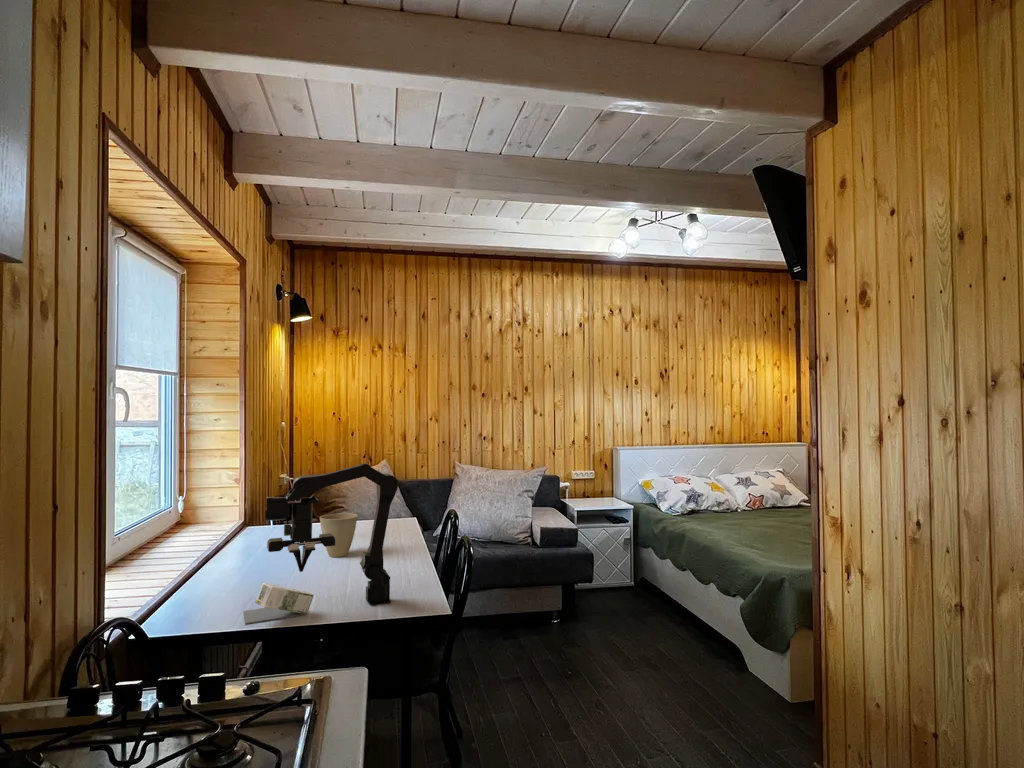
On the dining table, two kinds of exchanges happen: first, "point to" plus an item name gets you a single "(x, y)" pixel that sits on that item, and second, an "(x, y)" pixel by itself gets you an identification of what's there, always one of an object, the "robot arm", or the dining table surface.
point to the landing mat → (266, 615)
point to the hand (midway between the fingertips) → (301, 571)
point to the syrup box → (284, 598)
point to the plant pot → (339, 532)
